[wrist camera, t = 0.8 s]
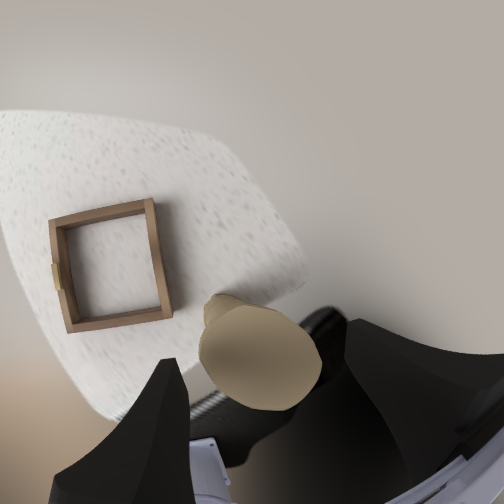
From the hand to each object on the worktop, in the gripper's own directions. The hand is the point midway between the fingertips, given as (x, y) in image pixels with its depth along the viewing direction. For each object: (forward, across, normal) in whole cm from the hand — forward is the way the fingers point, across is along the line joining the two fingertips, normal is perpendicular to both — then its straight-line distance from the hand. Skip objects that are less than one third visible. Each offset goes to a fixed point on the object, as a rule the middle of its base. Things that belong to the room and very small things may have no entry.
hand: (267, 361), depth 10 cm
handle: (+16, +2, +6) cm, 17 cm away
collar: (+16, +12, 0) cm, 20 cm away
